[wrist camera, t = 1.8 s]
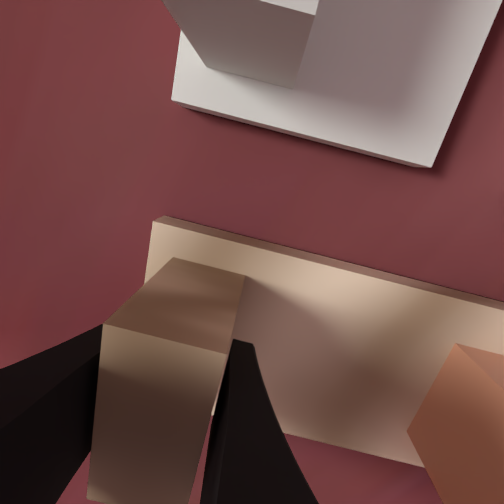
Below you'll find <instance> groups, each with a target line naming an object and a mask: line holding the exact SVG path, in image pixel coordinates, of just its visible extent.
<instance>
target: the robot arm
mask: <svg viewBox="0 0 504 504" xmlns="http://www.w3.org/2000/svg"><path fill="white" fill-rule="evenodd" d="M102 330H103V324H101V325H99V326H97V327H95V328H93V329H91V330H89V331H87V332H85V333H83V334H80V335H78V336H76V337H74V338H72V339H70V340H68V341H66V342H64V343H61V344H59V345H57V346H55V347H52V348H50V349H48V350H45V351H43V352H41V353H38V354H36V355H33V356H31V357H29V358H26V359H24V360H22V361H19V362H17V363H15V364H12V365H10V366H7V367H5V368H2V369H0V504H56V502H57V501H58V499H59V497H60V496H61V494H62V493H63V491H64V490H65V488H66V486H67V485H68V483H69V482H70V480H71V479H72V477H73V476H74V474H75V473H76V471H77V470H78V469H79V467H80V466H81V464H82V463H83V461H84V460H85V458H86V457H87V455H88V454H89V452H90V451H91V446H92V436H93V425H94V415H95V404H96V393H97V383H98V372H99V362H100V351H101V340H102ZM200 504H319V503H318V501H317V500H316V498H315V496H314V494H313V492H312V490H311V489H310V487H309V485H308V483H307V481H306V479H305V477H304V475H303V473H302V472H301V470H300V468H299V466H298V464H297V462H296V460H295V458H294V456H293V453H292V451H291V449H290V447H289V445H288V443H287V441H286V438H285V436H284V434H283V431H282V429H281V427H280V424H279V422H278V420H277V417H276V415H275V412H274V409H273V407H272V404H271V401H270V399H269V396H268V393H267V390H266V387H265V384H264V381H263V378H262V375H261V371H260V368H259V364H258V360H257V356H256V351H255V347H254V345H253V343H249V342H245V341H241V340H237V339H233V341H232V344H231V348H230V352H229V356H228V360H227V363H226V367H225V371H224V375H223V379H222V382H221V386H220V390H219V394H218V398H217V402H216V407H215V411H214V415H213V419H212V424H211V430H210V437H209V443H208V450H207V457H206V464H205V471H204V478H203V485H202V492H201V500H200Z"/></svg>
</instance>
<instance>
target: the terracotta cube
mask: <svg viewBox="0 0 504 504" xmlns="http://www.w3.org/2000/svg"><path fill="white" fill-rule="evenodd" d="M407 433H408V435H409V437H410V439H411V441H412V443H413V445H414V447H415V449H416V451H417V453H418V455H419V457H420V459H421V461H422V463H423V465H424V467H425V469H426V471H427V473H428V475H429V477H430V479H431V481H432V483H433V485H434V487H435V489H436V491H437V493H438V495H439V497H440V499H441V501H442V502H443V504H504V355H501V354H497V353H493V352H489V351H485V350H481V349H477V348H473V347H469V346H465V345H461V344H457V343H455V344H454V346H453V348H452V350H451V351H450V353H449V355H448V357H447V359H446V360H445V362H444V364H443V366H442V368H441V370H440V371H439V373H438V375H437V377H436V379H435V380H434V382H433V384H432V386H431V388H430V389H429V391H428V393H427V395H426V397H425V398H424V400H423V402H422V404H421V406H420V408H419V409H418V411H417V413H416V415H415V417H414V418H413V420H412V422H411V424H410V426H409V427H408V429H407Z"/></svg>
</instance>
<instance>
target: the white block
mask: <svg viewBox="0 0 504 504" xmlns="http://www.w3.org/2000/svg"><path fill="white" fill-rule="evenodd" d="M162 2H163V3H164V5H165V6H166V8H167V9H168V11H169V12H170V14H171V15H172V17H173V18H174V20H175V21H176V23H177V24H178V26H179V27H180V29H181V34H180V41H179V48H178V56H177V63H176V70H175V77H174V84H173V91H172V98H171V100H172V101H174V102H175V103H177V104H179V105H180V106H182V107H185V108H189V109H193V110H197V111H200V112H204V113H208V114H212V115H216V116H220V117H224V118H227V119H231V120H235V121H239V122H243V123H247V124H250V125H254V126H258V127H262V128H266V129H270V130H273V131H277V132H281V133H285V134H289V135H293V136H297V137H300V138H304V139H308V140H312V141H316V142H320V143H323V144H327V145H331V146H335V147H339V148H343V149H346V150H350V151H354V152H358V153H362V154H366V155H370V156H373V157H377V158H381V159H385V160H389V161H393V162H396V163H400V164H404V165H408V166H412V167H429V168H431V167H432V165H433V163H434V160H435V158H436V156H437V153H438V151H439V148H440V146H441V144H442V141H443V139H444V137H445V134H446V132H447V130H448V127H449V125H450V123H451V120H452V118H453V116H454V113H455V111H456V108H457V106H458V104H459V101H460V99H461V97H462V94H463V92H464V90H465V87H466V85H467V83H468V80H469V78H470V76H471V73H472V71H473V68H474V66H475V64H476V61H477V59H478V57H479V54H480V52H481V50H482V47H483V45H484V43H485V40H486V38H487V36H488V33H489V31H490V28H491V26H492V24H493V21H494V19H495V17H496V14H497V12H498V10H499V7H500V5H501V3H502V0H162Z"/></svg>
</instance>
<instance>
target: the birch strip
mask: <svg viewBox="0 0 504 504" xmlns="http://www.w3.org/2000/svg"><path fill="white" fill-rule="evenodd" d="M233 339H237V340H241V341H245V342H249V343H253V345H254V347H255V351H256V356H257V360H258V364H259V368H260V371H261V375H262V378H263V381H264V384H265V387H266V390H267V393H268V396H269V399H270V401H271V404H272V407H273V409H274V412H275V415H276V417H277V420H278V422H279V424H280V427H281V429H282V431H283V433H287V434H291V435H295V436H299V437H303V438H307V439H311V440H315V441H319V442H323V443H327V444H331V445H335V446H339V447H343V448H347V449H351V450H355V451H359V452H363V453H368V454H372V455H376V456H380V457H384V458H388V459H392V460H396V461H400V462H404V463H408V464H412V465H416V466H420V467H424V465H423V463H422V461H421V459H420V457H419V455H418V453H417V451H416V449H415V447H414V445H413V443H412V441H411V439H410V437H409V435H408V433H407V429H408V427H409V426H410V424H411V422H412V420H413V418H414V417H415V415H416V413H417V411H418V409H419V408H420V406H421V404H422V402H423V400H424V398H425V397H426V395H427V393H428V391H429V389H430V388H431V386H432V384H433V382H434V380H435V379H436V377H437V375H438V373H439V371H440V370H441V368H442V366H443V364H444V362H445V360H446V359H447V357H448V355H449V353H450V351H451V350H452V348H453V346H454V344H455V343H457V344H461V345H465V346H469V347H473V348H477V349H481V350H485V351H489V352H493V353H497V354H501V355H504V302H501V301H497V300H493V299H489V298H485V297H481V296H478V295H474V294H470V293H466V292H462V291H458V290H454V289H450V288H446V287H442V286H438V285H434V284H431V283H427V282H423V281H419V280H415V279H411V278H407V277H403V276H399V275H395V274H391V273H387V272H384V271H380V270H376V269H372V268H368V267H364V266H360V265H356V264H352V263H348V262H344V261H341V260H337V259H333V258H329V257H325V256H321V255H317V254H313V253H309V252H305V251H301V250H297V249H294V248H290V247H286V246H282V245H278V244H274V243H270V242H266V241H262V240H258V239H254V238H250V237H247V236H243V235H239V234H235V233H231V232H227V231H223V230H219V229H215V228H211V227H207V226H204V225H200V224H196V223H192V222H188V221H184V220H180V219H176V218H172V217H168V216H163V217H161V218H158V219H156V220H154V221H153V225H152V232H151V239H150V247H149V254H148V261H147V268H146V275H145V282H144V285H143V286H142V287H141V288H140V289H139V290H138V291H137V292H136V293H135V294H134V295H133V296H132V297H130V298H129V299H128V300H127V301H126V302H125V303H124V304H123V305H122V306H121V307H120V308H119V309H118V310H117V311H116V312H115V313H114V314H113V315H112V316H110V317H109V318H108V319H107V320H106V321H105V322H104V323H103V330H102V340H101V351H100V362H99V372H98V383H97V393H96V404H95V415H94V425H93V436H92V446H91V457H90V468H89V478H88V489H87V499H90V500H94V501H98V502H102V503H106V504H188V502H189V498H190V494H191V490H192V486H193V483H194V479H195V475H196V471H197V467H198V463H199V459H200V456H201V452H202V448H203V444H204V440H205V436H206V433H207V429H208V425H209V421H210V417H211V415H214V411H215V407H216V402H217V398H218V394H219V390H220V386H221V382H222V379H223V375H224V371H225V367H226V363H227V360H228V356H229V352H230V348H231V344H232V341H233ZM424 468H425V467H424Z"/></svg>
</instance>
